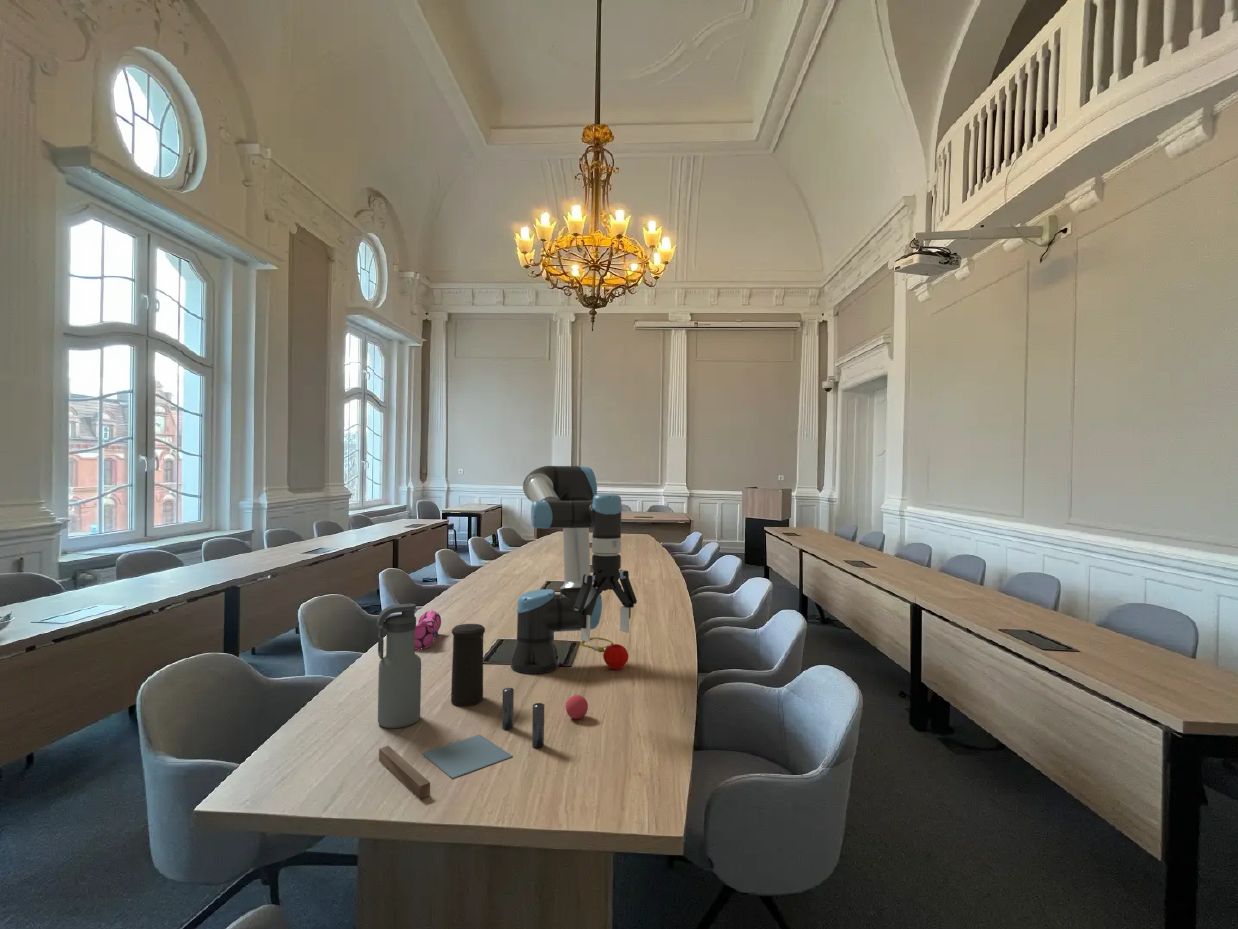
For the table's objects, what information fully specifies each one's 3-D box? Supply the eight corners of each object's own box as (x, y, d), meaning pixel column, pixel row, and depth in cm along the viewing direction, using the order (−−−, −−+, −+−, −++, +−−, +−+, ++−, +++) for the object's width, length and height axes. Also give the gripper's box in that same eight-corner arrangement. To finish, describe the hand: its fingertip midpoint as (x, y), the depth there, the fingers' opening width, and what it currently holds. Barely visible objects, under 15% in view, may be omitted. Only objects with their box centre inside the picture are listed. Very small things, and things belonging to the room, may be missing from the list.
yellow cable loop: (579, 653, 203) (579, 647, 203) (581, 640, 219) (581, 635, 219) (615, 653, 203) (615, 647, 203) (614, 640, 219) (614, 635, 219)
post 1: (509, 724, 143) (509, 687, 144) (515, 728, 141) (515, 690, 142) (500, 727, 142) (500, 689, 142) (505, 731, 140) (506, 692, 140)
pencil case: (437, 650, 204) (438, 620, 204) (408, 651, 202) (408, 622, 202) (443, 633, 225) (443, 607, 225) (416, 634, 223) (416, 608, 223)
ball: (578, 711, 152) (578, 690, 152) (592, 718, 147) (592, 696, 148) (561, 717, 148) (561, 695, 148) (574, 724, 144) (575, 701, 144)
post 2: (539, 742, 134) (540, 702, 134) (546, 746, 132) (546, 705, 132) (529, 745, 132) (530, 705, 132) (536, 749, 130) (537, 708, 131)
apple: (604, 663, 190) (604, 640, 191) (628, 664, 190) (629, 641, 190) (601, 672, 182) (602, 648, 183) (627, 673, 182) (627, 648, 182)
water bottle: (377, 733, 138) (380, 612, 138) (373, 717, 147) (376, 603, 147) (423, 725, 143) (425, 608, 143) (416, 710, 151) (418, 600, 152)
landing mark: (479, 735, 137) (479, 734, 137) (512, 757, 127) (512, 756, 127) (421, 754, 128) (421, 753, 128) (452, 779, 118) (452, 778, 118)
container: (490, 697, 161) (491, 622, 161) (471, 709, 153) (472, 631, 153) (462, 692, 164) (464, 620, 164) (443, 704, 155) (444, 627, 156)
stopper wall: (388, 757, 126) (388, 745, 126) (429, 796, 111) (430, 782, 111) (378, 760, 125) (379, 748, 125) (419, 799, 110) (419, 786, 110)
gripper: (577, 559, 144) (576, 648, 143) (650, 551, 160) (649, 631, 160) (559, 556, 149) (558, 641, 149) (631, 549, 166) (630, 625, 165)
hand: (605, 636), depth 154 cm, fingers open, 13 cm apart
